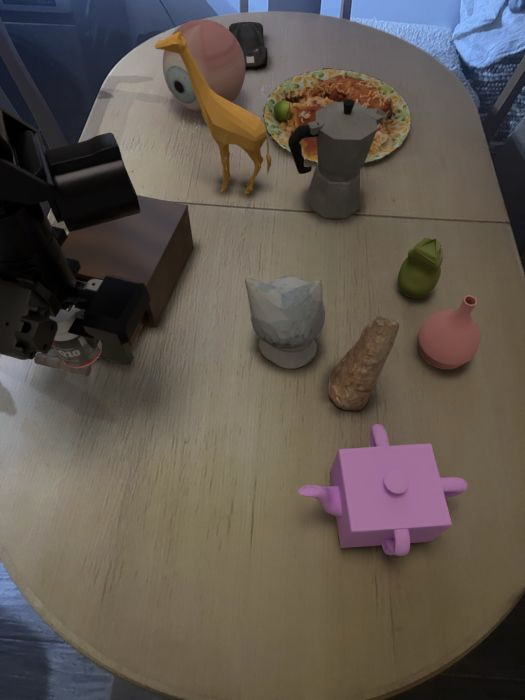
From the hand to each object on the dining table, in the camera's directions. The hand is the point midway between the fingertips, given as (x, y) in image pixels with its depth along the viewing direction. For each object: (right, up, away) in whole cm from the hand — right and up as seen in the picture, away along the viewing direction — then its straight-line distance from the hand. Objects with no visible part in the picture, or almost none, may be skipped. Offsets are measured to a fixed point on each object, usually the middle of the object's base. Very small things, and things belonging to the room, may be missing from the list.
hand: (74, 339), depth 57 cm
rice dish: (+35, +42, +42) cm, 69 cm away
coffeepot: (+32, +23, +30) cm, 50 cm away
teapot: (+33, -19, +4) cm, 38 cm away
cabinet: (+1, +10, +21) cm, 24 cm away
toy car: (+18, +63, +55) cm, 85 cm away
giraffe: (+14, +27, +32) cm, 44 cm away
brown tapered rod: (+32, -7, +12) cm, 35 cm away
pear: (+43, +8, +20) cm, 48 cm away
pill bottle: (0, -1, +2) cm, 3 cm away
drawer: (-2, +2, +15) cm, 16 cm away
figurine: (+24, 0, +16) cm, 28 cm away
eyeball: (+10, +46, +44) cm, 65 cm away
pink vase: (+45, -2, +15) cm, 47 cm away
